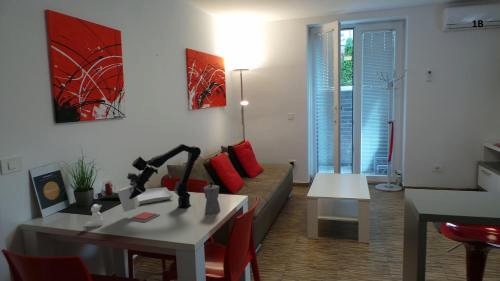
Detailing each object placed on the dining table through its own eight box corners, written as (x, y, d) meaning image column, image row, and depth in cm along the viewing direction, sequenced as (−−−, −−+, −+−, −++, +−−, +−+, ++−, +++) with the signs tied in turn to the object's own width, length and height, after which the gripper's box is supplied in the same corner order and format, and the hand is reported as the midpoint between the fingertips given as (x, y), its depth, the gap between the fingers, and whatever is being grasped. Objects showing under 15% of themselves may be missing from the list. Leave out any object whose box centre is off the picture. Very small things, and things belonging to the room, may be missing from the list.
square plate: (127, 197, 250) (127, 192, 249) (165, 191, 261) (165, 186, 260) (131, 207, 225) (131, 201, 225) (174, 200, 237) (173, 194, 236)
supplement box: (136, 208, 201) (128, 188, 199) (123, 212, 201) (116, 191, 199) (140, 204, 208) (133, 184, 206) (128, 207, 208) (121, 188, 207)
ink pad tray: (159, 215, 205) (159, 213, 205) (145, 222, 195) (145, 220, 195) (143, 213, 211) (143, 211, 210) (129, 220, 200) (129, 217, 200)
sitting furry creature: (99, 221, 201) (97, 200, 199) (109, 223, 196) (107, 202, 195) (84, 226, 193) (82, 205, 191) (94, 229, 188) (92, 207, 187)
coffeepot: (222, 214, 203) (220, 184, 201) (206, 216, 201) (204, 185, 199) (218, 206, 218) (216, 178, 216) (203, 208, 216) (201, 179, 214)
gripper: (132, 165, 212) (114, 186, 208) (137, 170, 195) (119, 192, 192) (146, 175, 216) (130, 196, 213) (153, 181, 200) (135, 203, 196)
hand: (128, 197), depth 203 cm, fingers closed on supplement box, 9 cm apart
